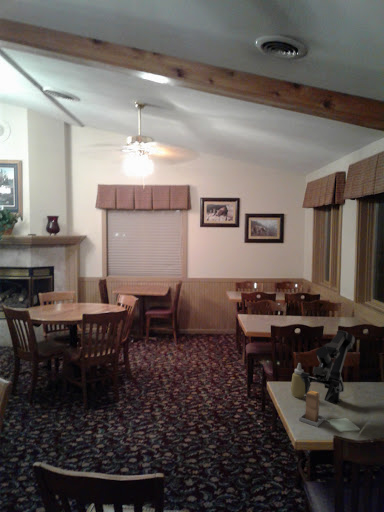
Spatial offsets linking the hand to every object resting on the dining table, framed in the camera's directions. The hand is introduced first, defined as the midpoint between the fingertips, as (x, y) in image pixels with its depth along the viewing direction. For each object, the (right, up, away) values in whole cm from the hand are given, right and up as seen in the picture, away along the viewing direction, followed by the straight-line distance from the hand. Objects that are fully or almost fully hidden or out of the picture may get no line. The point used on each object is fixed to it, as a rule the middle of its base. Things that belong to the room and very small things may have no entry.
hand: (315, 397), depth 181 cm
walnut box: (-2, -10, -2) cm, 10 cm away
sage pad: (+11, -11, -6) cm, 16 cm away
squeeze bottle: (-1, -9, +26) cm, 27 cm away
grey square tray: (-2, -10, -2) cm, 11 cm away
